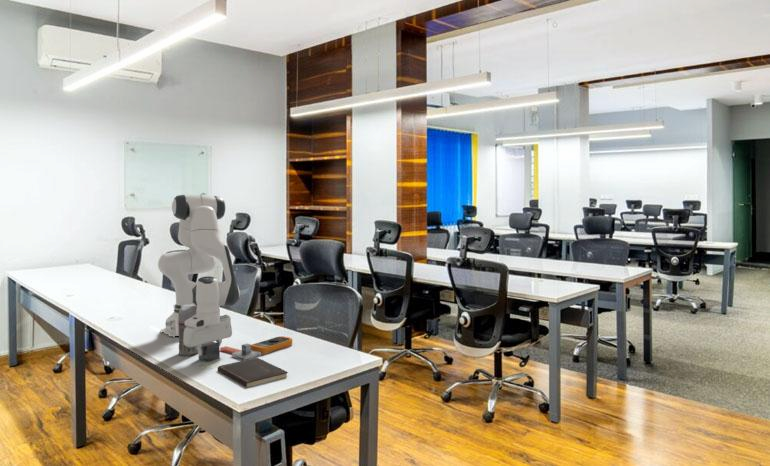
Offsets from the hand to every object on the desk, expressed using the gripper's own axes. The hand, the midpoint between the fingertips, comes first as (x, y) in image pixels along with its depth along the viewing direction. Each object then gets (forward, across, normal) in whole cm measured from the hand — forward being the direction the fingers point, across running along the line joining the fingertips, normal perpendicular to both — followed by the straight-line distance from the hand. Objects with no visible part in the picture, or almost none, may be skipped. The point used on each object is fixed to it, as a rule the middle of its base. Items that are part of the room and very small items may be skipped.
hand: (209, 353), depth 206 cm
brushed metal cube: (+2, 0, 0) cm, 2 cm away
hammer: (+2, -11, +4) cm, 12 cm away
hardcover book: (+3, +2, +28) cm, 28 cm away
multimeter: (+3, -25, +9) cm, 27 cm away
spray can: (+2, 0, -13) cm, 13 cm away
